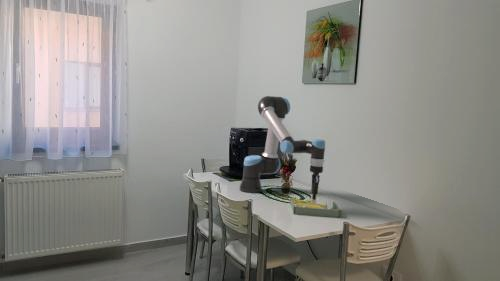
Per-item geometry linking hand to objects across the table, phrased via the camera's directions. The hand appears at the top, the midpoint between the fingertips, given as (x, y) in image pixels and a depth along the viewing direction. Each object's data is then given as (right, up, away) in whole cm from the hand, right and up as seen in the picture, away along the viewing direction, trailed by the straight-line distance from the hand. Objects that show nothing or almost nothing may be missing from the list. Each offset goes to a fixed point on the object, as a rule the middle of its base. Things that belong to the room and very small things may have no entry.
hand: (313, 204), depth 223 cm
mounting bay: (0, -3, -7) cm, 8 cm away
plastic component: (-3, -3, -6) cm, 7 cm away
